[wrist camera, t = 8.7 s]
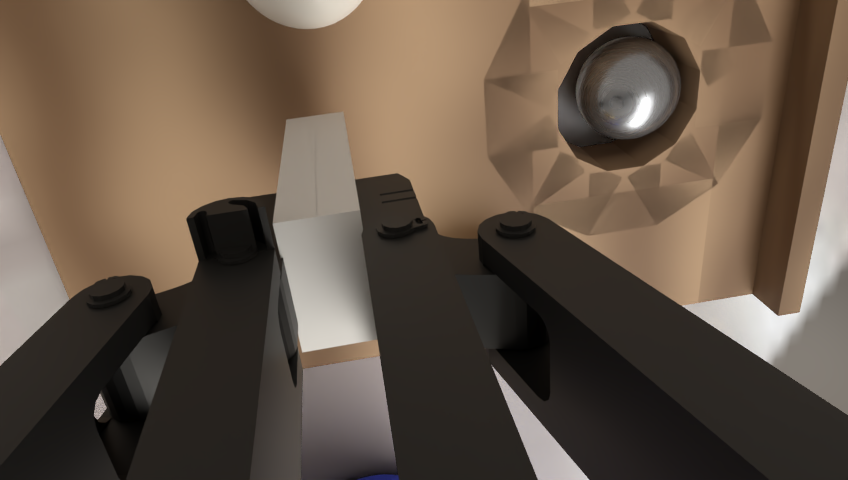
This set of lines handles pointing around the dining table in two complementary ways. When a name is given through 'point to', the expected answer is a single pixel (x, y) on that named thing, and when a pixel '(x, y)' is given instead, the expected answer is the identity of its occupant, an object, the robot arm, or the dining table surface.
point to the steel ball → (628, 87)
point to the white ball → (305, 11)
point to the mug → (380, 477)
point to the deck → (428, 128)
